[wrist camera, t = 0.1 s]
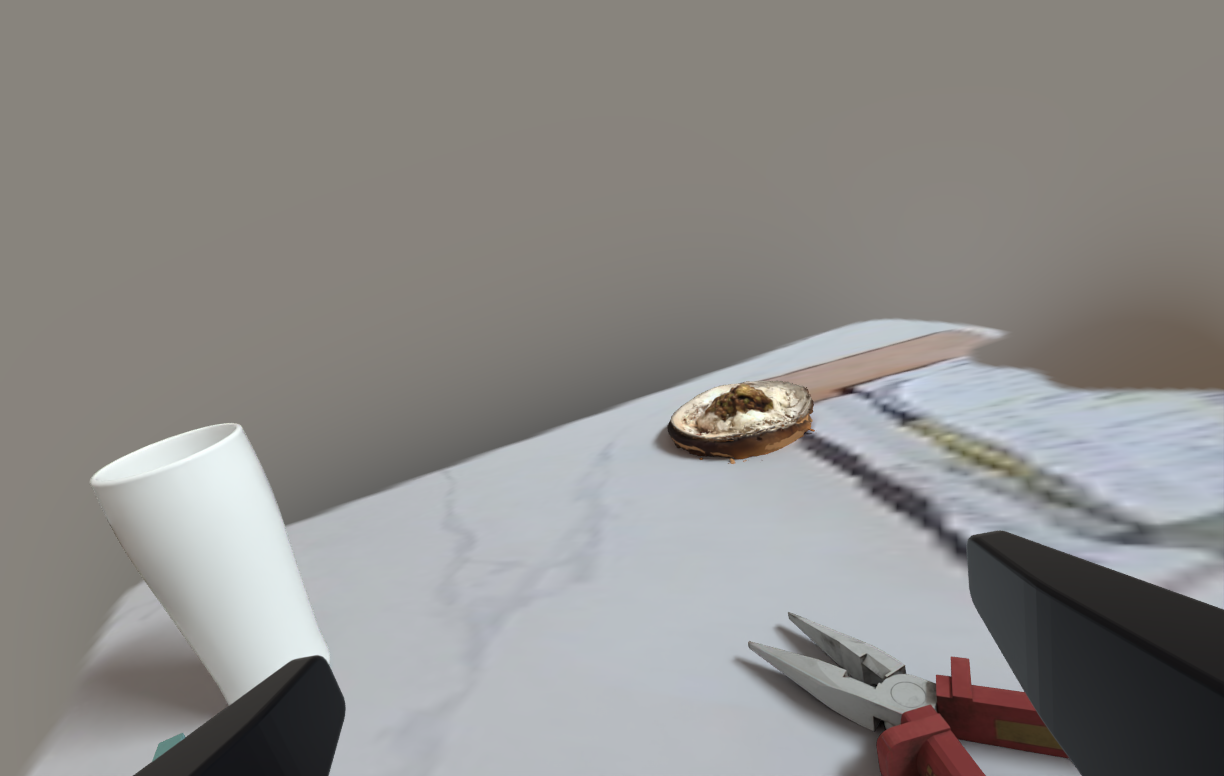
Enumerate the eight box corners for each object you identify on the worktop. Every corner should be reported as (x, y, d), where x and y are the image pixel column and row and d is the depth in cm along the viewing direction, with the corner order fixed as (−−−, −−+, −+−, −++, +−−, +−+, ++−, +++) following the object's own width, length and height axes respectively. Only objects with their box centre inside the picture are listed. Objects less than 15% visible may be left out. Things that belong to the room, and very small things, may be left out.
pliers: (844, 588, 33) (838, 546, 32) (1493, 880, 17) (1515, 811, 16) (686, 723, 27) (674, 677, 27) (1436, 1363, 11) (1464, 1294, 10)
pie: (624, 452, 56) (614, 410, 55) (731, 390, 64) (724, 352, 63) (757, 489, 45) (748, 437, 43) (865, 408, 53) (860, 362, 52)
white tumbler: (370, 644, 37) (271, 416, 33) (284, 743, 31) (148, 480, 27) (287, 640, 40) (184, 427, 35) (191, 731, 34) (52, 488, 29)
